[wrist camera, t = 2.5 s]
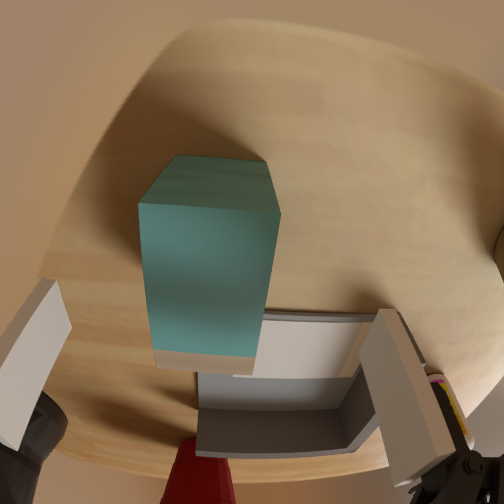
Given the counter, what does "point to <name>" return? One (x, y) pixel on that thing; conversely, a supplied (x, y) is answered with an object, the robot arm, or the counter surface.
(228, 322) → the teal block
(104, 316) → the counter surface
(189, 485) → the plastic cup
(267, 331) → the corner tray
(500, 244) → the squeeze bottle
